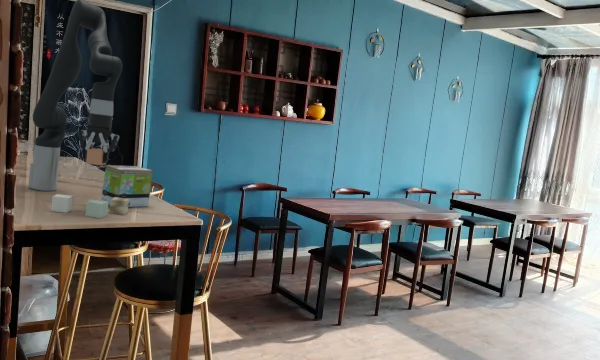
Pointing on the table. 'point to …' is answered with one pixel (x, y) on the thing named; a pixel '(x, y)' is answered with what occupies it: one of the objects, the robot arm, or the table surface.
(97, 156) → the terracotta cube
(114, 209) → the maple cube
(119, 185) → the tea box
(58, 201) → the cream cube
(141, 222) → the table surface
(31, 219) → the table surface
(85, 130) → the robot arm
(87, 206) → the sage cube
